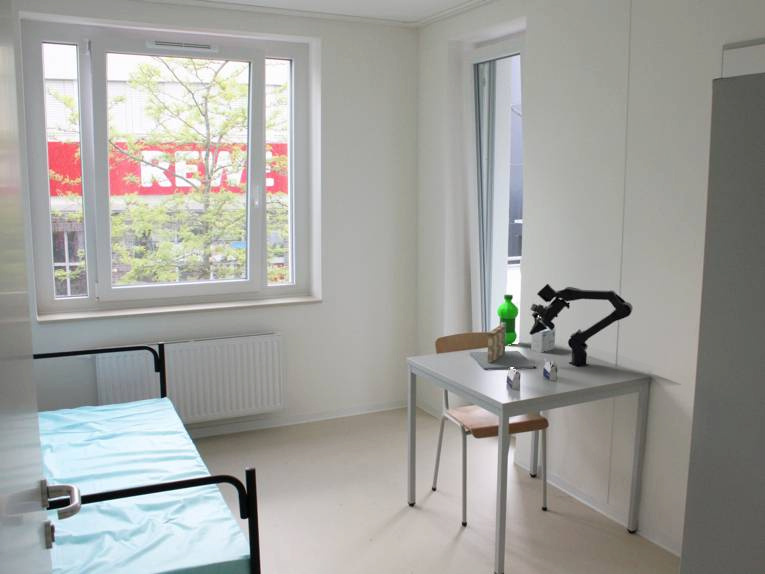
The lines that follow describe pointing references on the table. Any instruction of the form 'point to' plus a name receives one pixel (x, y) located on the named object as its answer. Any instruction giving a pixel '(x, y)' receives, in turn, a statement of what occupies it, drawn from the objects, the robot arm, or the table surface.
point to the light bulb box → (543, 340)
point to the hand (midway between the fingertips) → (530, 334)
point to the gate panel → (495, 343)
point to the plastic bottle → (508, 318)
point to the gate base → (503, 358)
